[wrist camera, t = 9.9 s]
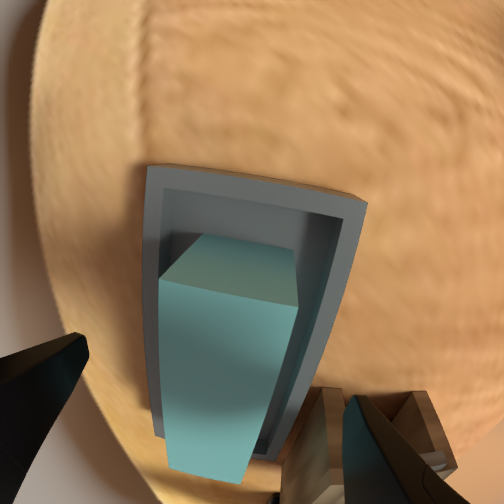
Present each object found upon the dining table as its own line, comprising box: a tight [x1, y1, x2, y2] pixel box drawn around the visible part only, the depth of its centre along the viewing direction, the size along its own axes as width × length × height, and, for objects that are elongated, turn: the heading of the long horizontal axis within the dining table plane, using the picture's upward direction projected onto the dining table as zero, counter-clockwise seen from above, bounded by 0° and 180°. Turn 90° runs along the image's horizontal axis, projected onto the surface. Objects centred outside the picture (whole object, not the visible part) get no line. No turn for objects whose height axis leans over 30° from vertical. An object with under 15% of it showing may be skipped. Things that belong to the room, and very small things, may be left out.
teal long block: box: [158, 233, 298, 484], centre depth 12 cm, size 12×4×5 cm, turn 171°
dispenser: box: [279, 387, 458, 504], centre depth 14 cm, size 12×8×7 cm
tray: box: [142, 164, 368, 461], centre depth 14 cm, size 18×9×2 cm, turn 171°
